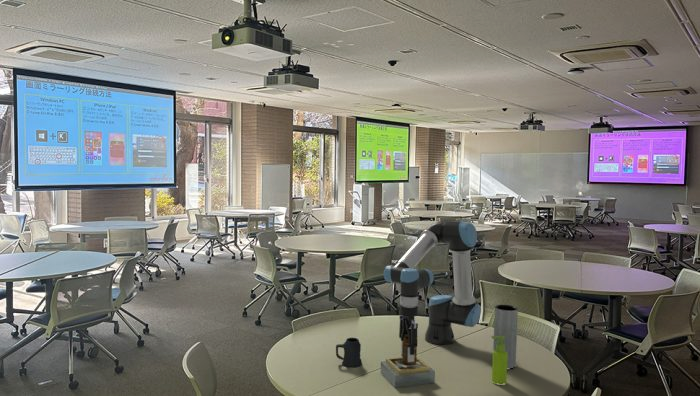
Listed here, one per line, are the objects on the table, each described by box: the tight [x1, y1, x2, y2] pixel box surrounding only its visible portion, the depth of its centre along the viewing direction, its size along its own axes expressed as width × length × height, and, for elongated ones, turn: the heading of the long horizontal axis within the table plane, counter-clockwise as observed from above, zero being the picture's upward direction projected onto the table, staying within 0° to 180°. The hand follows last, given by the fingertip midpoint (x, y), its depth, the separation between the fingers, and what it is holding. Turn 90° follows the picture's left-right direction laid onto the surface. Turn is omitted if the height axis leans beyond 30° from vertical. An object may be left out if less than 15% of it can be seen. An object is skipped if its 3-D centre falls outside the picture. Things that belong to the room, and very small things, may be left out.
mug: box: [335, 337, 363, 368], centre depth 240 cm, size 12×9×11 cm
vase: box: [492, 304, 519, 368], centre depth 241 cm, size 10×10×27 cm
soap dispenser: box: [490, 335, 508, 384], centre depth 221 cm, size 6×7×20 cm
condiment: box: [395, 334, 420, 367], centre depth 225 cm, size 7×8×12 cm
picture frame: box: [380, 356, 436, 389], centre depth 227 cm, size 18×19×6 cm
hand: (407, 358), depth 225 cm, fingers closed on condiment, 6 cm apart
